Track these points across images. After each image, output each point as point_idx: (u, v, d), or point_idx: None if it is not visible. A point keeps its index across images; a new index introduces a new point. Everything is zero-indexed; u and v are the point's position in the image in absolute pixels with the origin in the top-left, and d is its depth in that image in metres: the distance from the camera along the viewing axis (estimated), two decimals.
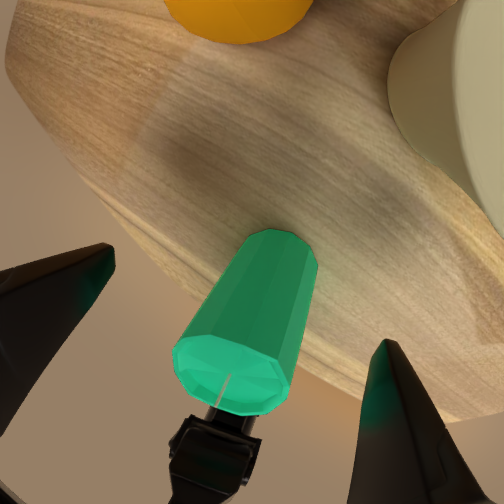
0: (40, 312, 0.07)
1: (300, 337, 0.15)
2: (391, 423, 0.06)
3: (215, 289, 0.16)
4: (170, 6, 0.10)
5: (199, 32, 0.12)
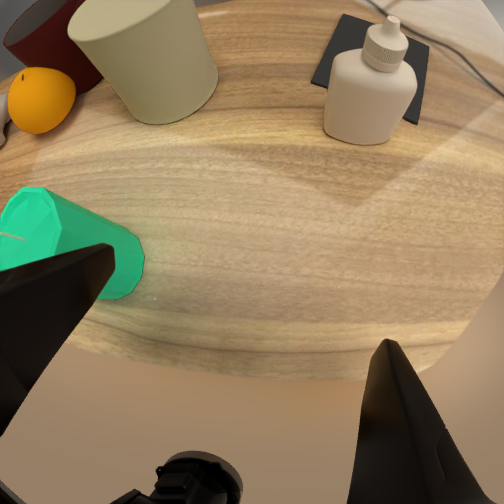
0: (40, 312, 0.07)
1: (83, 213, 0.16)
2: (391, 423, 0.06)
3: None
4: (10, 111, 0.21)
5: (23, 120, 0.22)
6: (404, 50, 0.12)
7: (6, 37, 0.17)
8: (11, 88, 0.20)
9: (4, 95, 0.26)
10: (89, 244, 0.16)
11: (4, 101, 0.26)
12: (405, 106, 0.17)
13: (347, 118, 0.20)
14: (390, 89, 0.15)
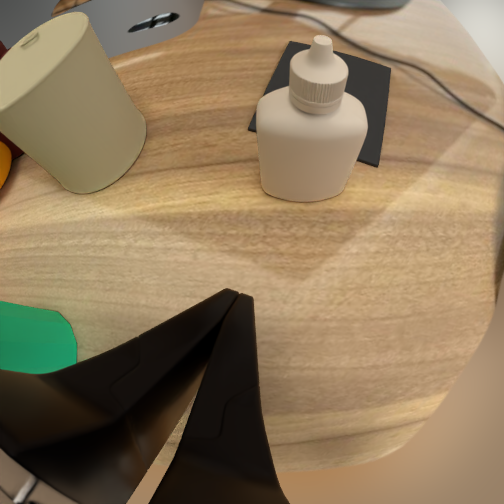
0: (179, 387, 0.06)
1: None
2: None
3: None
4: None
5: None
6: (342, 81, 0.11)
7: None
8: None
9: None
10: (4, 347, 0.12)
11: None
12: (355, 153, 0.15)
13: (283, 176, 0.17)
14: (330, 136, 0.13)
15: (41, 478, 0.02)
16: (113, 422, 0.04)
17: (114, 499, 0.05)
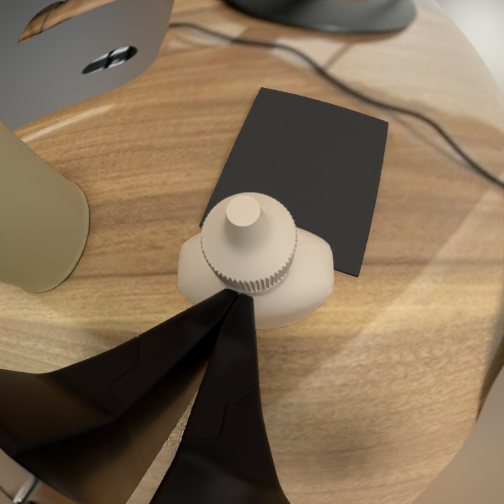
0: (179, 387, 0.06)
1: None
2: None
3: None
4: None
5: None
6: (282, 269, 0.07)
7: None
8: None
9: None
10: None
11: None
12: (315, 308, 0.12)
13: None
14: (273, 314, 0.10)
15: (41, 478, 0.02)
16: (113, 422, 0.04)
17: (114, 499, 0.05)
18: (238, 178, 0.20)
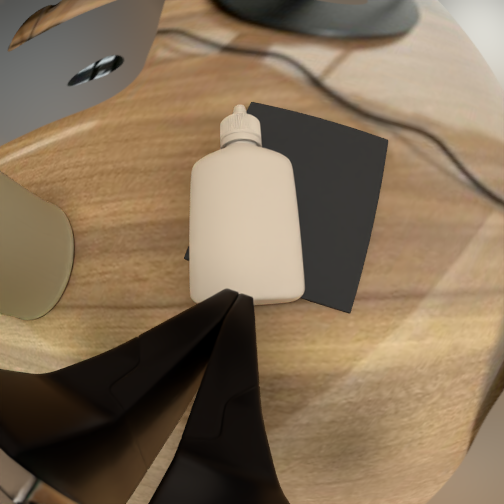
0: (179, 387, 0.06)
1: None
2: None
3: None
4: None
5: None
6: (253, 117, 0.17)
7: None
8: None
9: None
10: None
11: None
12: (288, 187, 0.16)
13: (213, 228, 0.15)
14: (253, 151, 0.16)
15: (41, 478, 0.02)
16: (113, 422, 0.04)
17: (114, 499, 0.05)
18: None
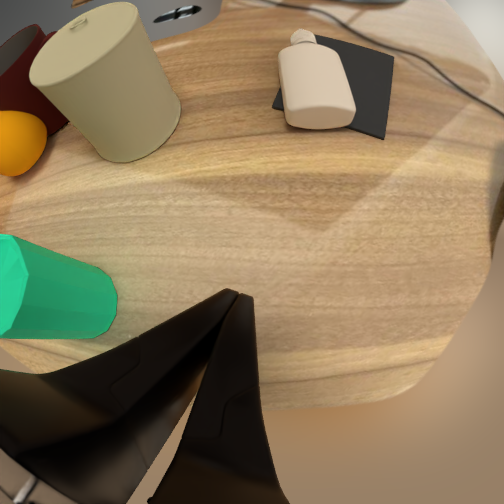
0: (179, 387, 0.06)
1: (51, 257, 0.16)
2: None
3: None
4: None
5: None
6: (311, 33, 0.24)
7: None
8: None
9: None
10: (57, 287, 0.15)
11: None
12: (338, 62, 0.22)
13: (299, 75, 0.22)
14: (316, 44, 0.22)
15: (41, 478, 0.02)
16: (113, 422, 0.04)
17: (114, 499, 0.05)
18: None
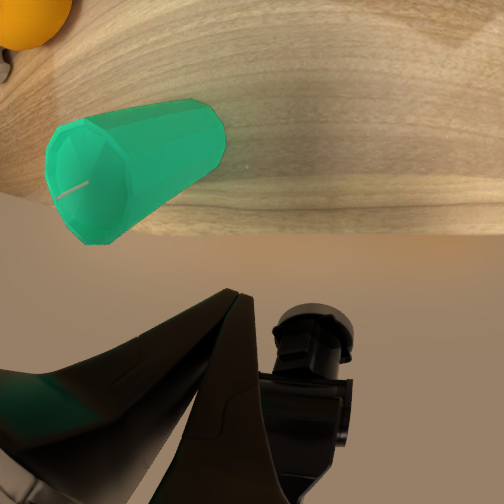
0: (179, 387, 0.06)
1: (144, 117, 0.13)
2: None
3: None
4: (2, 44, 0.14)
5: (21, 43, 0.15)
6: None
7: None
8: None
9: None
10: (166, 151, 0.13)
11: None
12: None
13: None
14: None
15: (41, 478, 0.02)
16: (113, 422, 0.04)
17: (114, 499, 0.05)
18: None
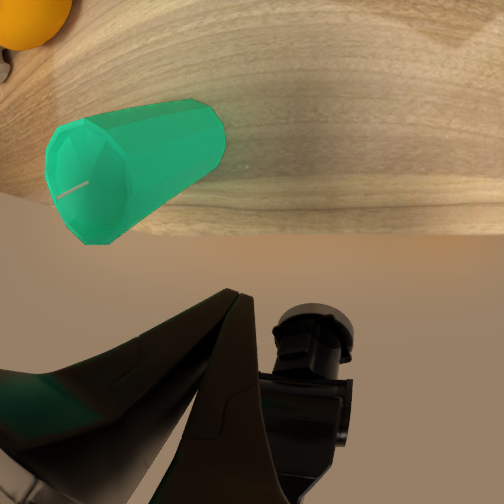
0: (179, 387, 0.06)
1: (144, 117, 0.13)
2: None
3: None
4: (2, 44, 0.14)
5: (21, 43, 0.15)
6: None
7: None
8: None
9: None
10: (166, 151, 0.13)
11: None
12: None
13: None
14: None
15: (41, 478, 0.02)
16: (113, 422, 0.04)
17: (114, 499, 0.05)
18: None
